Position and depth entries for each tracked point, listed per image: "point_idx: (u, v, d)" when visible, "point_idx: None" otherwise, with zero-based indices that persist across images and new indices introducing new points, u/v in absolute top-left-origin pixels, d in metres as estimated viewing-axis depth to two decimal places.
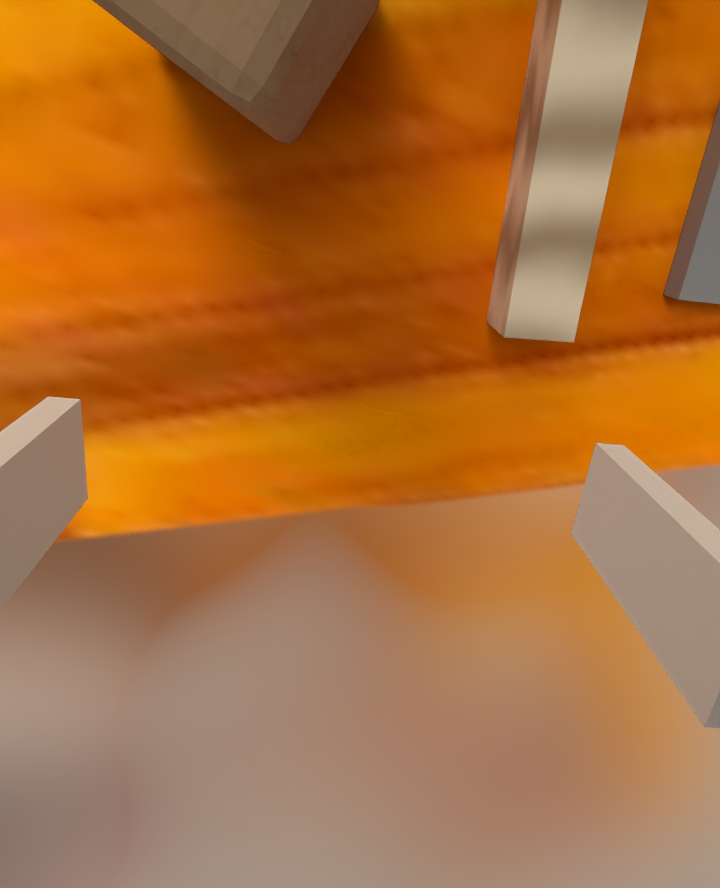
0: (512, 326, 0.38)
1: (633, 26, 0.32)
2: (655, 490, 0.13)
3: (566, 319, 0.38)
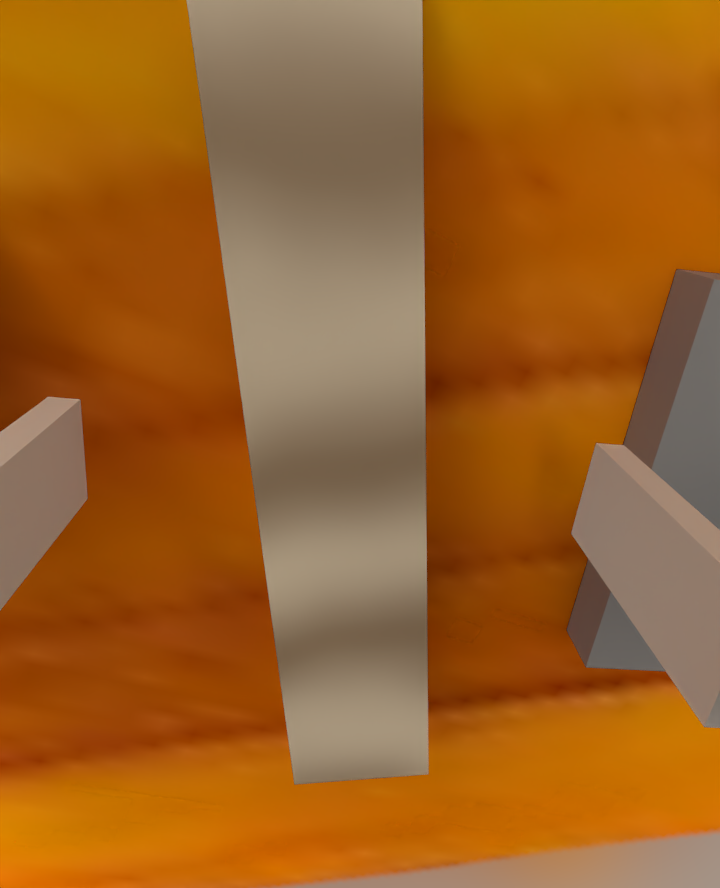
0: (304, 768, 0.20)
1: (402, 254, 0.14)
2: (655, 490, 0.13)
3: (404, 746, 0.20)
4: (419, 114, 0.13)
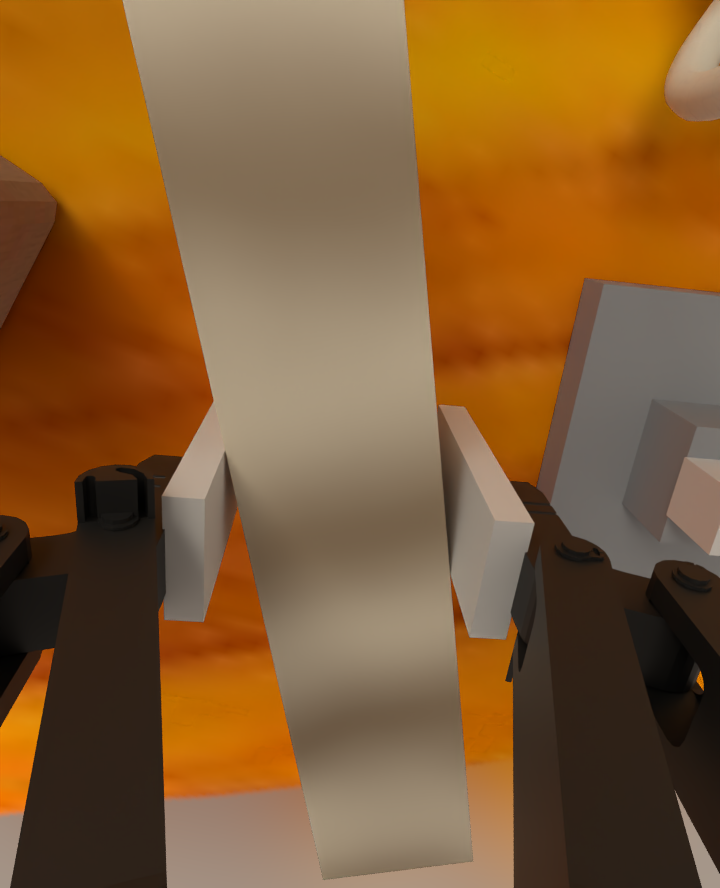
0: (333, 862, 0.18)
1: (401, 290, 0.12)
2: (466, 440, 0.15)
3: (443, 832, 0.18)
4: (409, 128, 0.11)
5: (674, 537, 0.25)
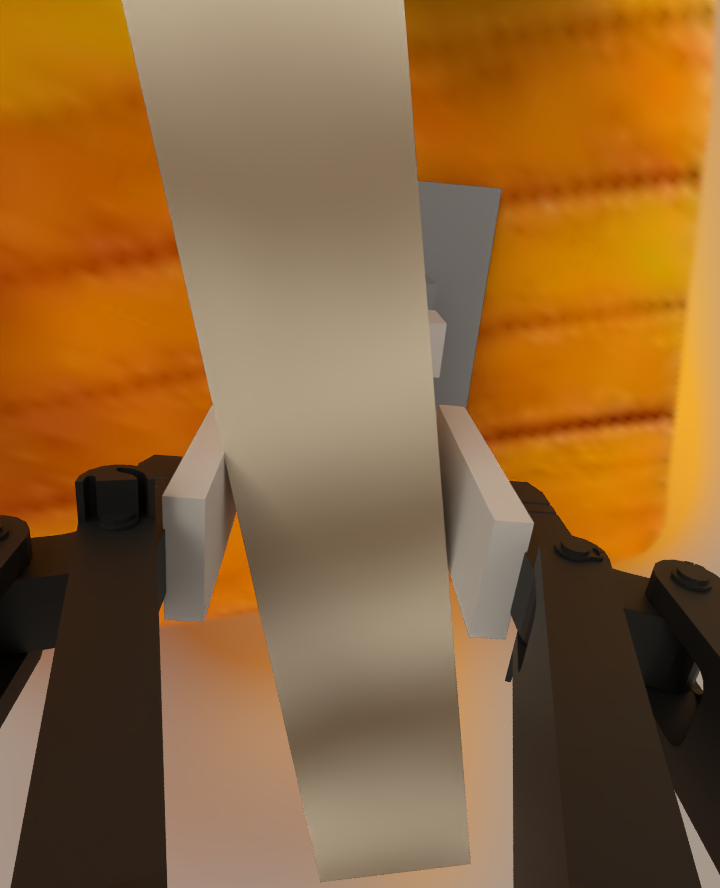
0: (330, 864, 0.18)
1: (401, 292, 0.12)
2: (466, 440, 0.15)
3: (441, 835, 0.18)
4: (409, 129, 0.11)
5: None
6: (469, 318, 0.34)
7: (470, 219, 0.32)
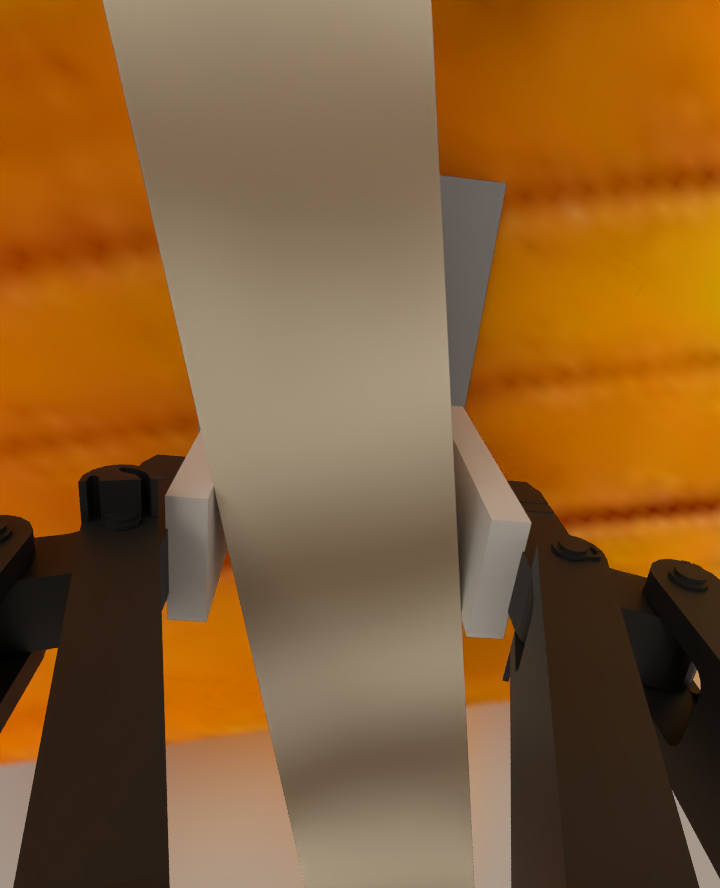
0: None
1: (416, 297, 0.10)
2: (464, 440, 0.15)
3: (445, 878, 0.16)
4: (431, 107, 0.09)
5: None
6: (453, 374, 0.23)
7: (457, 229, 0.21)
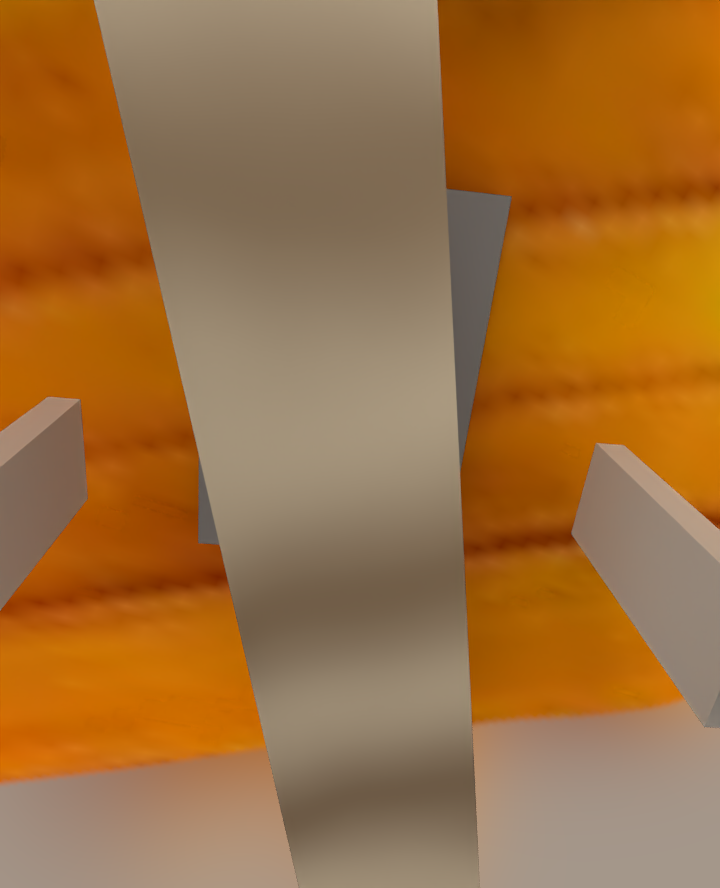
0: None
1: (422, 319, 0.10)
2: (655, 490, 0.13)
3: None
4: (437, 124, 0.09)
5: None
6: (458, 389, 0.22)
7: (462, 243, 0.20)
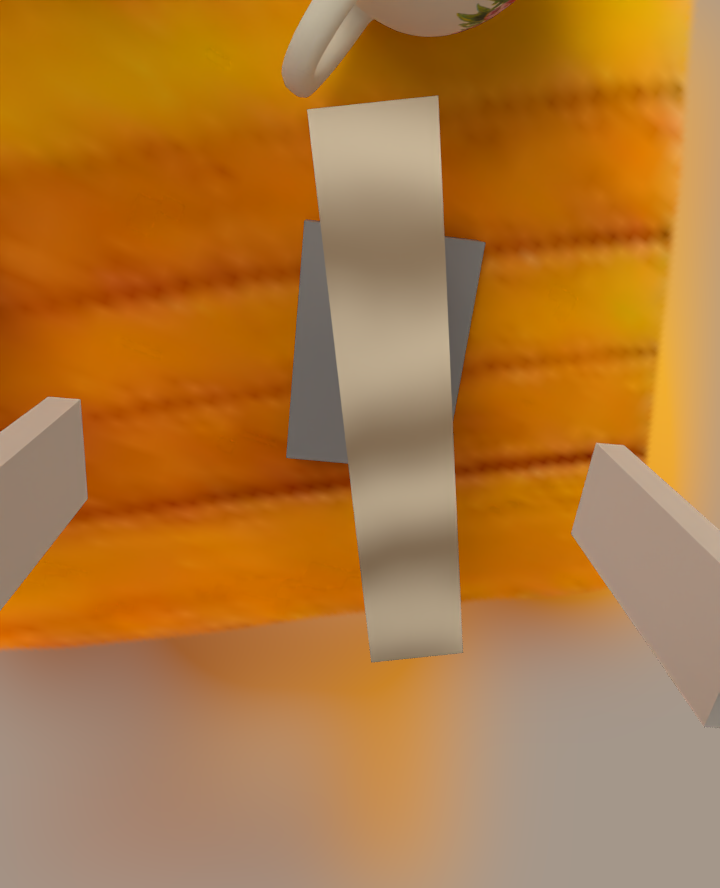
0: (378, 649, 0.30)
1: (435, 307, 0.24)
2: (655, 490, 0.13)
3: (445, 631, 0.29)
4: (442, 231, 0.23)
5: None
6: (453, 358, 0.36)
7: (456, 269, 0.34)
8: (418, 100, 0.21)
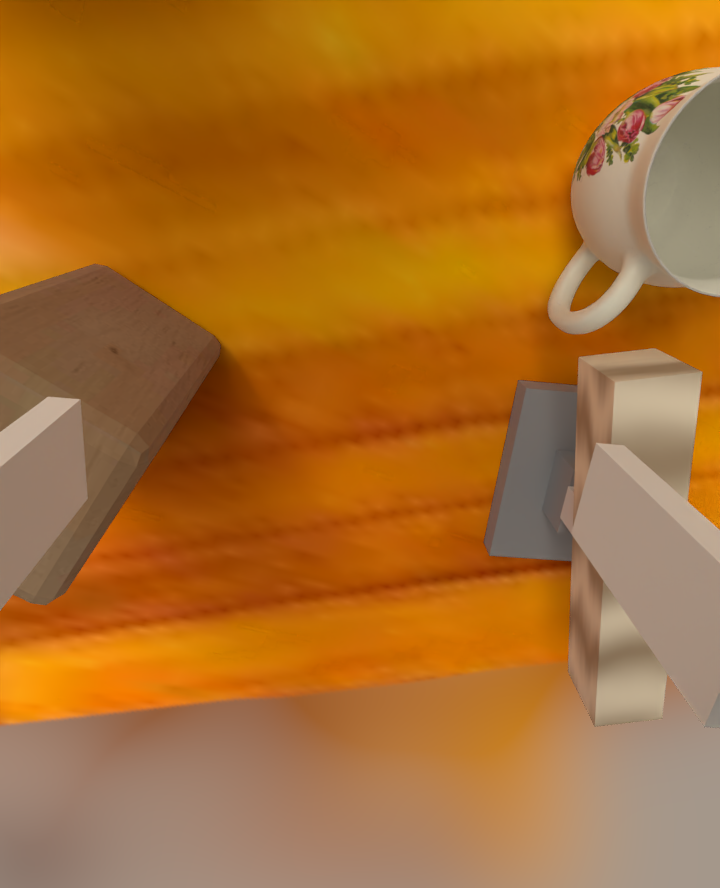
0: (601, 717, 0.40)
1: None
2: (655, 490, 0.13)
3: (652, 704, 0.40)
4: (691, 450, 0.33)
5: (565, 529, 0.44)
6: None
7: None
8: (688, 375, 0.31)
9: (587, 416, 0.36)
